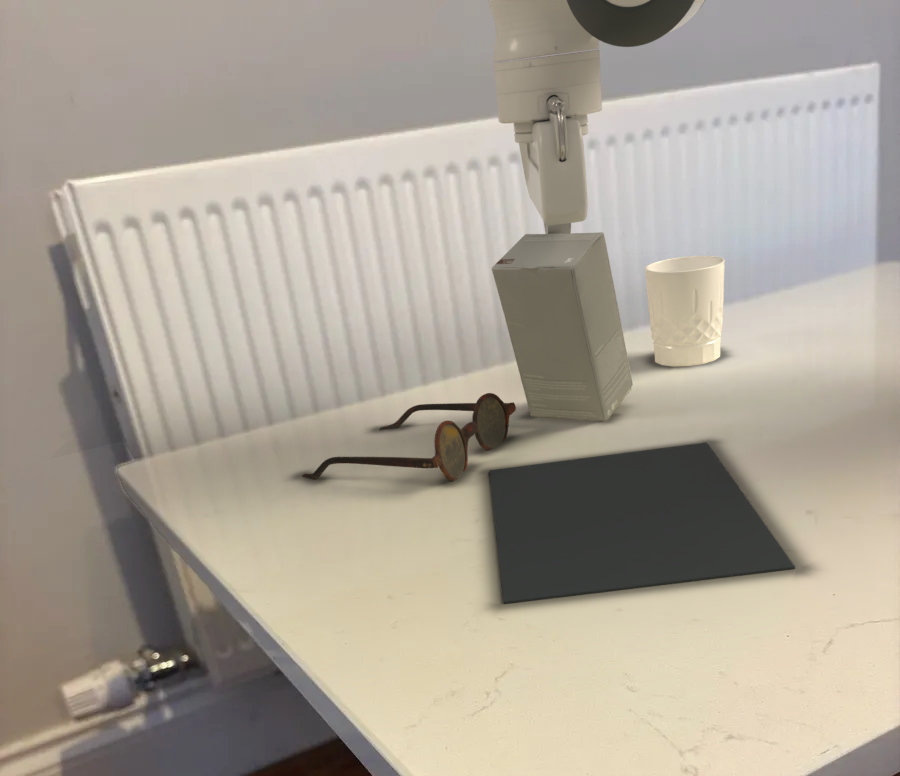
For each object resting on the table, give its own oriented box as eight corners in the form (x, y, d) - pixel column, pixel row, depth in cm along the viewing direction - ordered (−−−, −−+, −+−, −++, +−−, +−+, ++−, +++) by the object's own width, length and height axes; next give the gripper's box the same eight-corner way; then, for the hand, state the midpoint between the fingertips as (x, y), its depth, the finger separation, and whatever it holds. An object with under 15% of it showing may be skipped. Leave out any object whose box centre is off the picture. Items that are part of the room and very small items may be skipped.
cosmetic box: (634, 390, 97) (614, 226, 87) (601, 431, 93) (576, 264, 83) (556, 382, 101) (528, 226, 91) (521, 421, 97) (488, 262, 87)
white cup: (634, 367, 109) (628, 270, 104) (680, 348, 113) (676, 254, 109) (695, 375, 103) (692, 273, 99) (741, 355, 108) (740, 256, 103)
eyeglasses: (441, 496, 83) (432, 437, 81) (296, 484, 90) (284, 430, 88) (519, 435, 94) (513, 382, 92) (384, 429, 101) (375, 380, 99)
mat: (707, 448, 85) (706, 442, 84) (795, 575, 63) (795, 566, 63) (490, 476, 86) (489, 470, 85) (504, 610, 64) (503, 601, 64)
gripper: (601, 93, 77) (609, 280, 84) (573, 88, 96) (582, 242, 102) (518, 103, 78) (532, 289, 84) (506, 96, 96) (518, 250, 102)
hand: (559, 263), depth 93 cm, fingers closed
